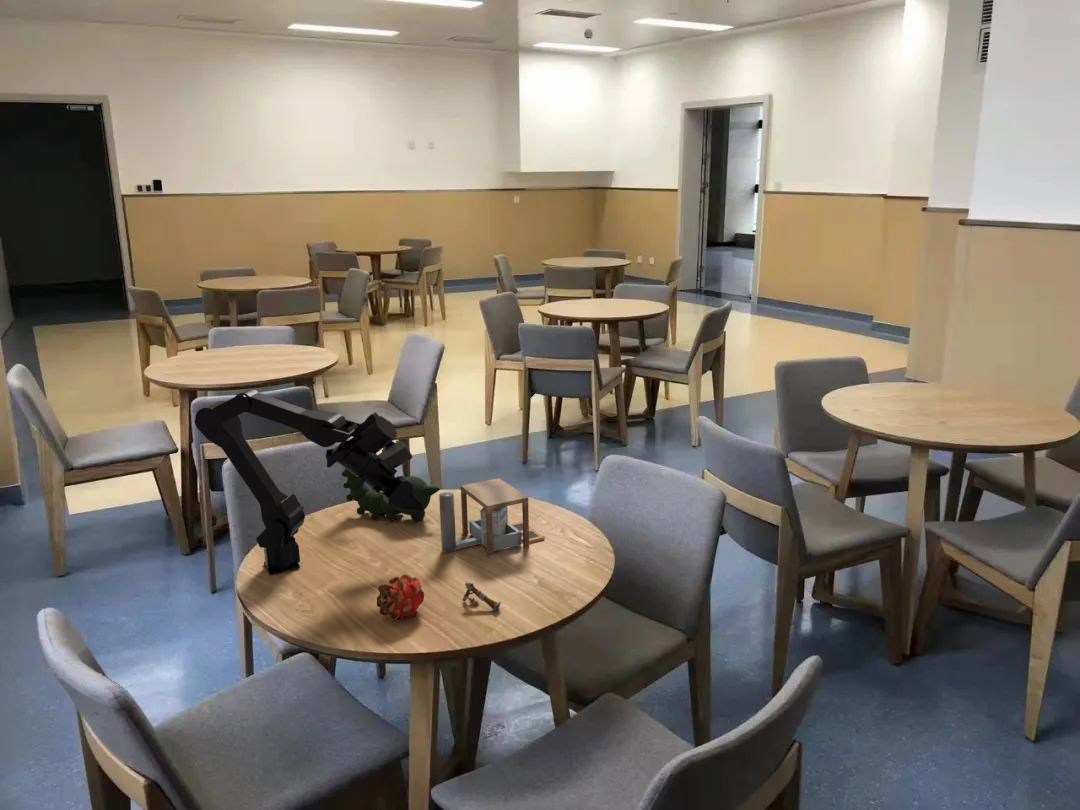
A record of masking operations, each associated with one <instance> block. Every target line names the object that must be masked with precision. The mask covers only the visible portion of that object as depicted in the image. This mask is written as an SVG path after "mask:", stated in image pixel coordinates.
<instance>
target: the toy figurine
mask: <svg viewBox="0 0 1080 810" xmlns="http://www.w3.org/2000/svg"><path fill="white" fill-rule="evenodd" d="M340 466H341V467H343V466H342V465H340ZM341 476H342V477H344V478H345V477H346V478H347V480H346V482H344V483H343V485H342V486H343V488H344V489H349V491H350V492H349V494H347V495H346V496H345V499H346V501H348V502H351V501H353V500H354V501H355V502H357V504H358V506H359V507H357V508H356V513H357V515H359V516H363V515H364V514H366V513H365V512H368V513H370V518H371V520H372V521H374V520H375V521H378V520H379V518H380V517H382V516H385V518H386V520H387V521H390V522H393V521H394V520H395V519H396V518H397V516H398V515H400V514H403V515H404V516H405V515H406V516H410V518H411V520H412V521H413V522H415V523H417V522H418V523H419V522H421V521H422V520H423V519H424V518H425V516H426V511H425V510H426V509H427V508H428V507H429V504H430V502H431V498H432V496H433V495H435V494H436V493H438V492H439V491H440V490H441V488H440V487H438V486H432V485H428V483H427V482H426V481H424V480H423V479H422V478H421V477H417V476H404V477H405V478H406V479H407V480H409V481H410V482H411V483H412V484H413V485H414V490H413V494H414V495H415V497H416V498H417V499H418V500H419V501H420V503H421V504H422V505H423V506H424V510H423V511H422V512H420V511H414V510H407V509H399V508H398V509H394V508H392V507H391V506H390V505H388V504H387V503H386V502H385V501H384V500H383V493H384V492H383V491H380V492H379V493H377V492H376V491H372V490H370V489H369V487H368V486H367V484H366V483H365V482H362V481H361V480H360V479H359V478H358V477H357V476H355V475H354V474H353V473H351V472H350V471H349V470H347V469H346V468H344V470H343V471H342V472H341Z"/></svg>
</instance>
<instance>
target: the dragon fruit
mask: <svg viewBox="0 0 1080 810" xmlns="http://www.w3.org/2000/svg"><path fill="white" fill-rule="evenodd" d="M377 590H378V593H379V595H377V597H376V607H377V608H379V613H380V615H384V616H387V615H390V616H389V619H390V620H393V621H394V620H395V621H401V620H402V619H403V617H407V618H408V617H409V618H411V617H413V618H415V617H416V616H417V615H418V612H417V610H418V609H419V607H420V606H421V605H422V603H423V602H424V599H425V592H424V591H423V589H422V583H421V581H420V579H419V578H417V577H416V576H414V577H412V576H411V575H409V574H407V573H405V574H403V575H401V577H399V576H396V577H393V578H391V579H389V581H388V583H386V584H381V585H379V586H378V587H377Z"/></svg>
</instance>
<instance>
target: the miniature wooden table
mask: <svg viewBox="0 0 1080 810" xmlns="http://www.w3.org/2000/svg"><path fill="white" fill-rule="evenodd" d="M468 497H469V498H471V499H472V500H474V501H475V502H476V503H478V504H479V505H480V506H481V507H482V508H483V507H484V508H485V509H486V533H487V547H486V552H487V556H488V557H489V558H490V557H494V551H493V532H492V509H496V508H501V507H506V506H507V507H509V506H514V505H519V504H521V505H522V507H521V509H522V510H521V511H522V521H523V542H522V544H523V548H524V547H525V548H524V549H528V548H530V543H529V526H530V524H529V523H530V521H529V520H530V519H529V518H530V517H529V514H530V513H529V497H528V496H527V495H525V494H524V493H522V492H521V491H519V490H518V489H516V488H515V487H513V486H512V485H511V484H509V483H507V482H506V481H504V480H502V478H500V477H498V478H497V477H496V478H494V479H489V480H483V481H478V482H472V483H468V484H462V485H460V501H461V503H460V504H461V526H462V529H461V530H462V535H464V536H465V535H469V521H468V519H469V517H468V500H467V499H468ZM527 547H528V548H527Z"/></svg>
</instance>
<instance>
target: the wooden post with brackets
mask: <svg viewBox="0 0 1080 810" xmlns="http://www.w3.org/2000/svg"><path fill="white" fill-rule="evenodd" d="M464 585H465V589H467V590H466V592H465V594H463V597H462V601H463V602H466V601H467V600H468V601H469V604H470V605H472V606H473V607H475V606H476V607H479V606H480V604H479V600H481V601H482V602H484V603H486V604H487V605H488V606H489V607H490V608H491V609H492V612H493V613H495V611H496V610H497V609H500V606H501V604H502V601H495V600H493V599H491V598H490V597H488V596H487V594H485V593H484V592H483V591H482V590H479V589H478V588H476V585H475V584H474V583H473V582H465V583H464ZM472 594H474V595H475V597H477V598H478V599H479V600H476V599H475V597H473V598H471V597H469V596H470V595H472Z"/></svg>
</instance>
